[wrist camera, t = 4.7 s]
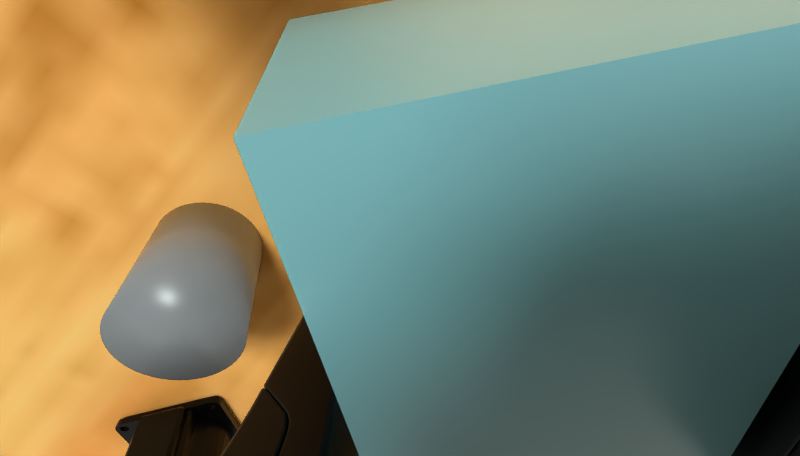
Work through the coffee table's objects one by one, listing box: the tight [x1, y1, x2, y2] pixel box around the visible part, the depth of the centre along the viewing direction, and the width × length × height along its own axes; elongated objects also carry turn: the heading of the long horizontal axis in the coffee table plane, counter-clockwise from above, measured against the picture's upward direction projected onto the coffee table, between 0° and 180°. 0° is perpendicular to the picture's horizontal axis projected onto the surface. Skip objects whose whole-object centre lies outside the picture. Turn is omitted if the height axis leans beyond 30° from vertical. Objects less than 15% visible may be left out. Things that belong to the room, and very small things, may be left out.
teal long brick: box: [233, 0, 800, 456], centre depth 8 cm, size 10×5×6 cm, turn 8°
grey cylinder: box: [100, 203, 263, 380], centre depth 18 cm, size 5×5×6 cm
